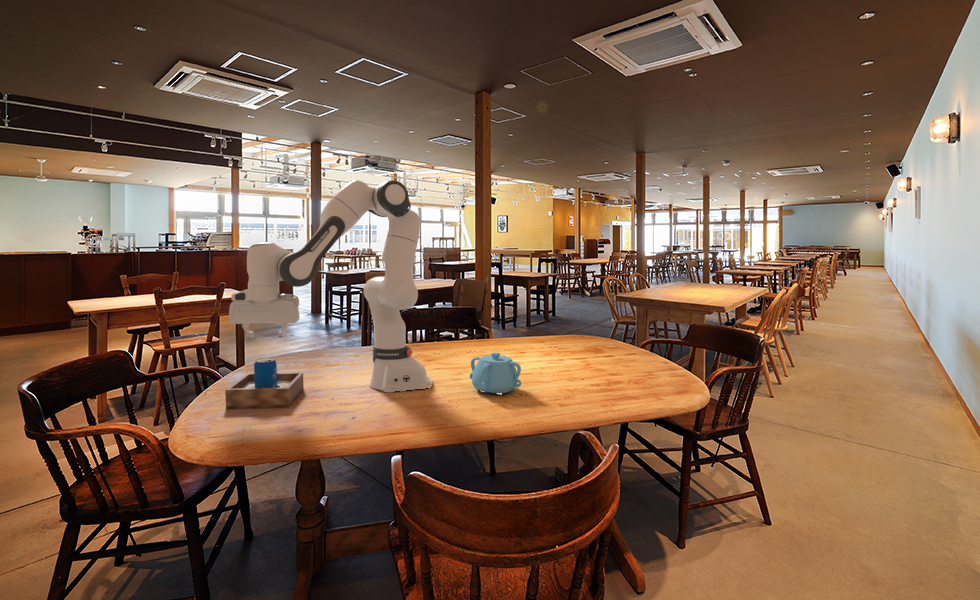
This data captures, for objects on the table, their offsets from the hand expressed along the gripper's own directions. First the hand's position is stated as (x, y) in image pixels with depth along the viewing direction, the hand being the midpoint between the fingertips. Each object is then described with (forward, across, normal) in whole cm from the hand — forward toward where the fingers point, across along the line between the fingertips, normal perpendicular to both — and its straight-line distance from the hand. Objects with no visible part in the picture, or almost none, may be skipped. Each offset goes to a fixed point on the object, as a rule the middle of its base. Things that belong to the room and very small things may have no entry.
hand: (266, 337), depth 147 cm
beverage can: (+19, 0, +1) cm, 19 cm away
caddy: (+20, 0, 0) cm, 20 cm away
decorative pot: (+21, -75, -3) cm, 78 cm away
